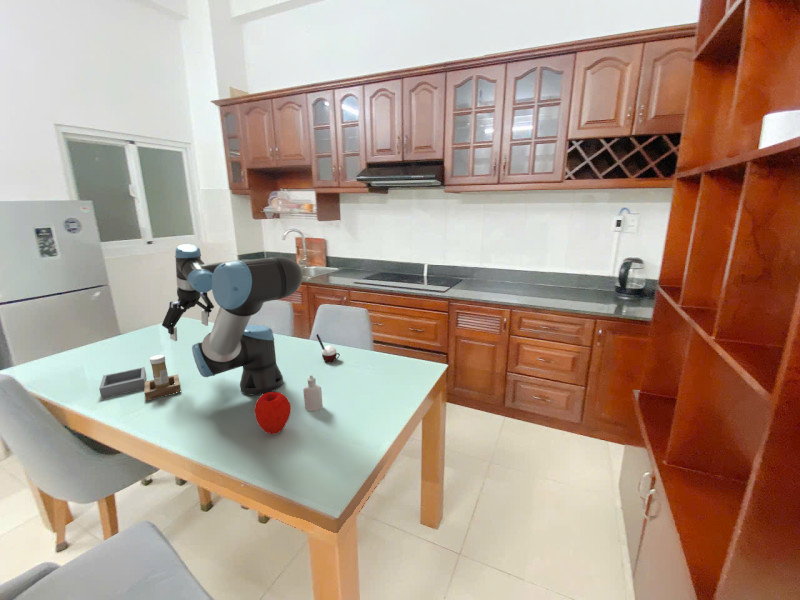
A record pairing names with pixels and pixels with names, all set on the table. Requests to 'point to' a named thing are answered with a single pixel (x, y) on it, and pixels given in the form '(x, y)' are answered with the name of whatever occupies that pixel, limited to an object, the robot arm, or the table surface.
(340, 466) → the table surface
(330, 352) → the cocoa
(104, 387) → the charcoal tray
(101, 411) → the table surface
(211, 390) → the table surface
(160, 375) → the sprinkles bottle
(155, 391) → the walnut collar
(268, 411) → the apple
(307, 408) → the eye dropper bottle
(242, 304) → the robot arm
